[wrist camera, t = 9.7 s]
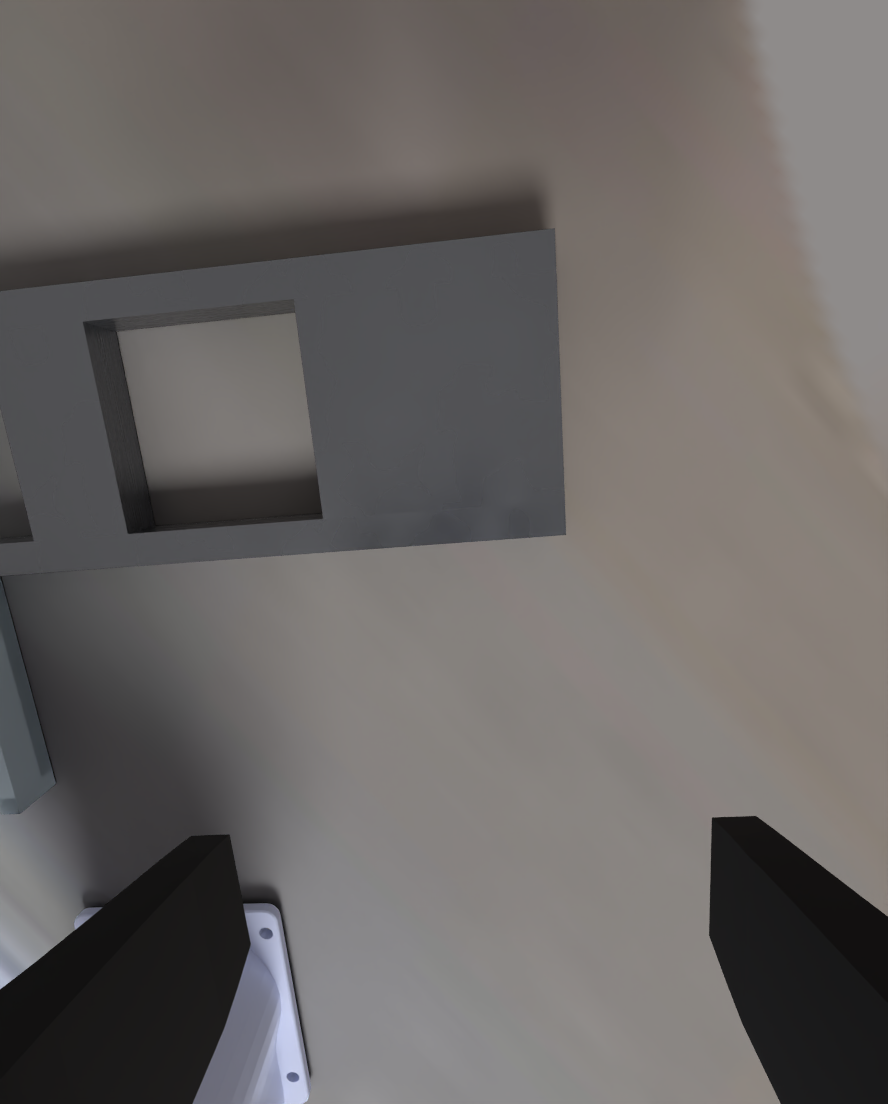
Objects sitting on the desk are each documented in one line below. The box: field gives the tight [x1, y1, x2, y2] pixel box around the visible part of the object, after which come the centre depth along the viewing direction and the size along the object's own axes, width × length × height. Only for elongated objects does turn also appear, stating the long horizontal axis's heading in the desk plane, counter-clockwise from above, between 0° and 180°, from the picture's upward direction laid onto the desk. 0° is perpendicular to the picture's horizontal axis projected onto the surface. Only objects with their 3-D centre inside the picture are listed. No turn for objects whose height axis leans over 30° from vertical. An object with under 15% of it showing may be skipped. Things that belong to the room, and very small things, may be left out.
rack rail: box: [0, 228, 566, 576], centre depth 16 cm, size 8×26×1 cm, turn 95°
